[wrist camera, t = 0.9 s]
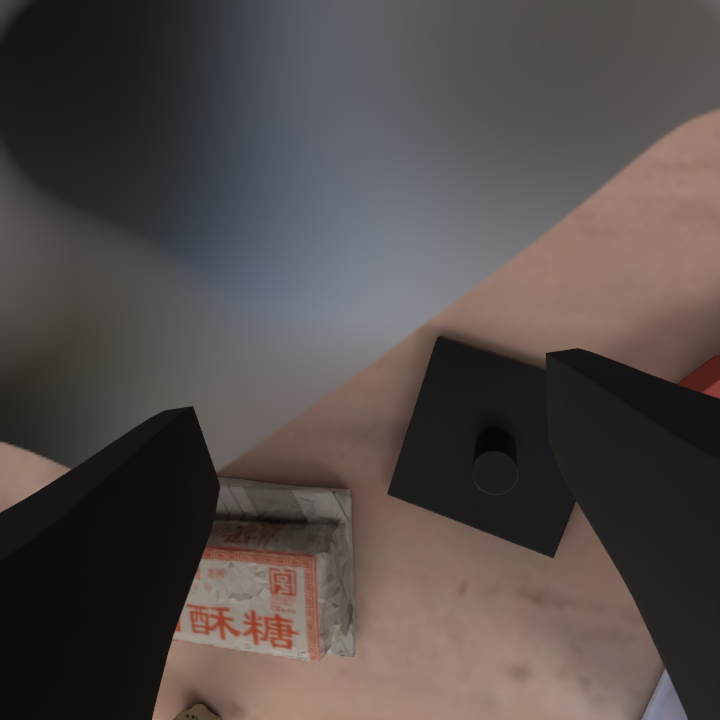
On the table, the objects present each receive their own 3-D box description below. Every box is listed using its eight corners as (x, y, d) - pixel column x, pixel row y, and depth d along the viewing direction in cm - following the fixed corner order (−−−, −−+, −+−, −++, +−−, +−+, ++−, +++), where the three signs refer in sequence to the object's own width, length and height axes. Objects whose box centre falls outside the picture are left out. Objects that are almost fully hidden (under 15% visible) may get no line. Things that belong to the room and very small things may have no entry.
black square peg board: (614, 390, 26) (639, 412, 22) (551, 549, 28) (562, 602, 23) (439, 335, 28) (427, 344, 23) (390, 488, 30) (369, 525, 25)
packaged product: (329, 517, 26) (336, 705, 27) (354, 482, 31) (360, 645, 32) (25, 494, 30) (43, 657, 32) (87, 466, 35) (101, 610, 36)
